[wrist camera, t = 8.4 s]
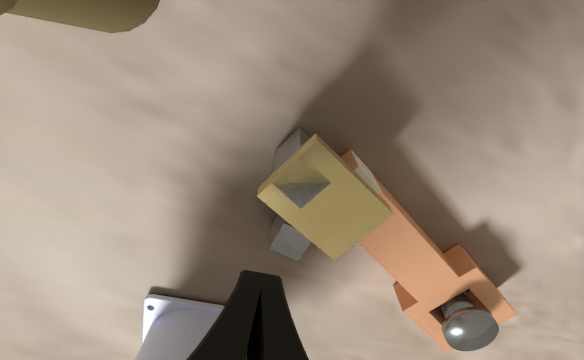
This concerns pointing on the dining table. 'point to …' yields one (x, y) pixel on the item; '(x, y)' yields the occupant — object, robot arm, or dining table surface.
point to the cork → (85, 12)
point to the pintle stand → (345, 222)
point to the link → (425, 266)
